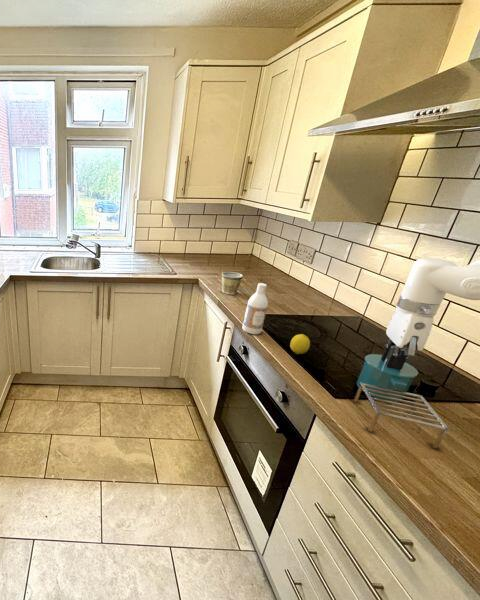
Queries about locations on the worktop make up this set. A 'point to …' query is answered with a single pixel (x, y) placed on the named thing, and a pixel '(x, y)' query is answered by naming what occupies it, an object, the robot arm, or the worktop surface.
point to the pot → (383, 382)
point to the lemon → (300, 344)
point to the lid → (380, 365)
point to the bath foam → (256, 311)
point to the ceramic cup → (231, 282)
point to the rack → (411, 412)
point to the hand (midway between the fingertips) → (390, 364)
